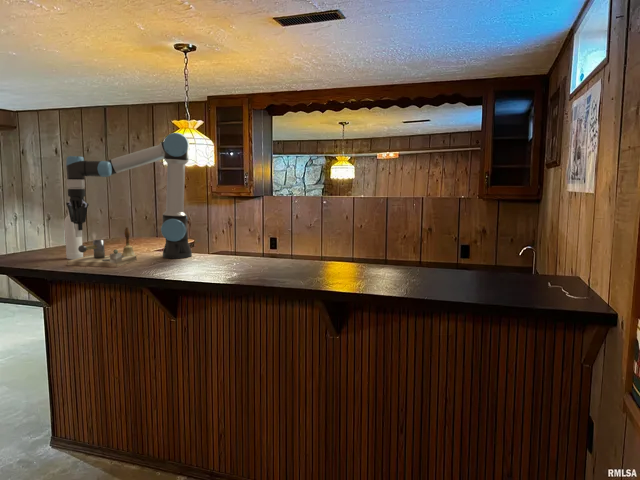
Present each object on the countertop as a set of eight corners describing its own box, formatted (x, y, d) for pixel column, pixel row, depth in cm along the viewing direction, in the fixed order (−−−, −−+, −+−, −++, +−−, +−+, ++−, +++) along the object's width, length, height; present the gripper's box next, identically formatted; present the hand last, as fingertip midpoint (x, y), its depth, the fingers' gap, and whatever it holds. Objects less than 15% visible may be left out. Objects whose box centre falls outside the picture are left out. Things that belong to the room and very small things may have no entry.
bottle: (67, 257, 242) (63, 201, 238) (83, 256, 245) (80, 201, 241) (65, 259, 235) (61, 202, 231) (83, 258, 238) (79, 201, 234)
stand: (136, 260, 235) (135, 244, 234) (117, 266, 217) (116, 250, 216) (89, 258, 238) (88, 243, 237) (67, 265, 220) (65, 249, 219)
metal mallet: (99, 256, 233) (98, 239, 231) (107, 256, 231) (106, 239, 230) (76, 261, 219) (74, 243, 217) (84, 262, 217) (83, 243, 216)
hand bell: (116, 257, 243) (115, 227, 241) (127, 254, 251) (126, 226, 249) (129, 258, 241) (128, 228, 239) (140, 255, 249) (138, 226, 247)
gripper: (92, 188, 220) (94, 236, 223) (74, 188, 225) (76, 235, 228) (78, 188, 213) (81, 238, 216) (60, 188, 218) (62, 236, 221)
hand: (78, 236), depth 222 cm, fingers closed
